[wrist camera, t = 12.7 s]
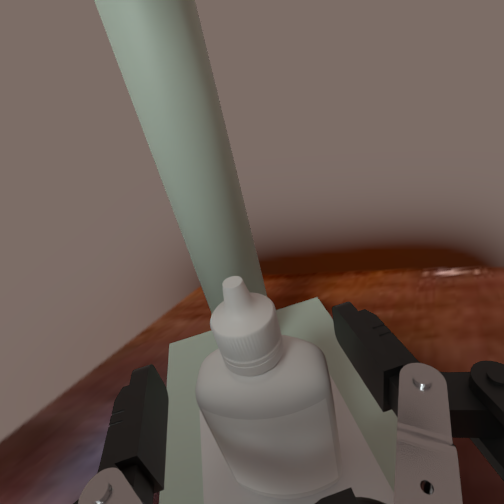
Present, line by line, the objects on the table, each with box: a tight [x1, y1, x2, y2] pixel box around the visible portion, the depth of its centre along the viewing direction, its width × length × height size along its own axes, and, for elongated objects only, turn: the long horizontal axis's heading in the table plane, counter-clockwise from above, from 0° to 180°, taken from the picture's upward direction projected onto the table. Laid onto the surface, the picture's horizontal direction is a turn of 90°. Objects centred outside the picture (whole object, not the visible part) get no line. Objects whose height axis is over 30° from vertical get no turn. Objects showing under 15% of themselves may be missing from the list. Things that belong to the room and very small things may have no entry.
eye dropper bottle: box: [195, 276, 343, 499], centre depth 13 cm, size 4×6×12 cm
